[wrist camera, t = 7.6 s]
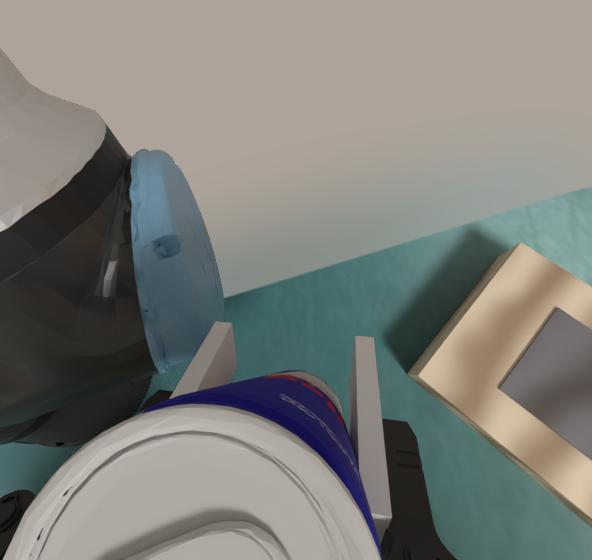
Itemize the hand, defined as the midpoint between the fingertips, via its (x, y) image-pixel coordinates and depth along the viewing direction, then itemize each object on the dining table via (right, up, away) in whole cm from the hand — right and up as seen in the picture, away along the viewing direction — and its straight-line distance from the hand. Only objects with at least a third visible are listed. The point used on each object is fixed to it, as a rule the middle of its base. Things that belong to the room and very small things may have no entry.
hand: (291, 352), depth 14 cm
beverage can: (0, -5, +4) cm, 7 cm away
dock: (+24, -6, +15) cm, 29 cm away
